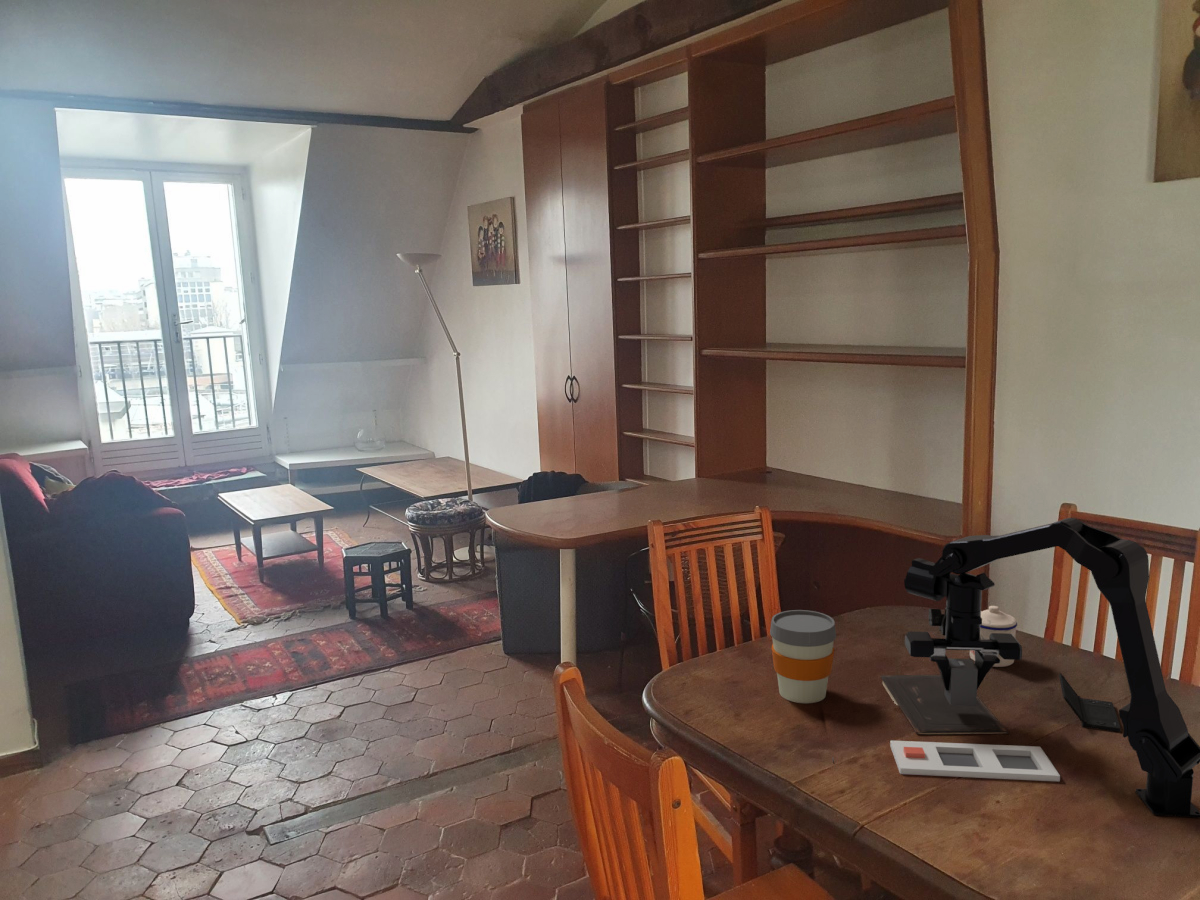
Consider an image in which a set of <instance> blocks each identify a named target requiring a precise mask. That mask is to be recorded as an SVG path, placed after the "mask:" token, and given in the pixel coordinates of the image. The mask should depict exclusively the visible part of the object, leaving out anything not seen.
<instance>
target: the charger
mask: <svg viewBox="0 0 1200 900" xmlns="http://www.w3.org/2000/svg"><path fill="white" fill-rule="evenodd" d="M947 658H948V657H947ZM948 659H949V690H948V691H946V689H945V696H946V698H947V700H948V702H949V704H950V705H957V706H976V701H977V696H978V689H977V676H978V669H977V667H976V666H975V662H974V660H972V659H971V658H948Z"/></svg>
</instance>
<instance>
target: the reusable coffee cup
mask: <svg viewBox="0 0 1200 900" xmlns="http://www.w3.org/2000/svg"><path fill="white" fill-rule="evenodd" d="M836 632H837V631H836V622H835V619H834V618H833V617H831V616H830V615H827V614H825V613H822V612H819V611H814V610H807V609H806V610H805V609H804V610H803V609H794V610H793V609H792V610H785V611H780V612H778V613H776V614H774V615H773V616H772V618H771V622H770V630H769V634H770V636H771V638H772V644H771V653H772V655H771V656H772V663H773V669H774V671H775V672H776V676H777V683H778V692H779V695H780V696H781V697H782V698H783V699H785V700H787V701H790V702H794V703H796V704H797V703H798V704H813V703H814V704H815V703H818V702H819V703H820V702H821V701H823V700H824V699H825V698H826V696H827V688H828V680H829V676H830V675H831V674H832V669H833V662H834V656H835V647H834V641H835V639H836V638H837V633H836Z"/></svg>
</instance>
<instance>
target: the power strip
mask: <svg viewBox="0 0 1200 900" xmlns="http://www.w3.org/2000/svg"><path fill="white" fill-rule="evenodd" d="M889 746H890V749H891V752H892V754H893V757H894V761H895V763H896V766H897V769H898V772H899V774H900V775H911V776H912V775H915V776H916V775H917V776H936V777H956V778H959V777H961V778H975V779H976V778H977V779H979V778H981V779H998V780H1016V781H1017V780H1018V781H1019V780H1021V781H1040V782H1058V783H1059V782H1060V781H1061V775H1060V773H1059V772H1058V770H1057V769H1056V767H1055V766H1054V765H1053V763H1052V761H1051V760H1050V758H1049V757H1048V756H1047V755H1046V753H1045V751H1044V750H1043V749H1042V748H1041V746H1030V745H1011V744H1009V745H1006V744H983V743H981V744H980V743H962V742H961V743H960V742H959V743H958V742H957V743H956V742H941V741H939V742H935V741H911V740H908V741H907V740H890V743H889ZM833 762H834V763H835V759H834V758H832V763H833Z"/></svg>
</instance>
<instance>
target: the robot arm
mask: <svg viewBox="0 0 1200 900" xmlns="http://www.w3.org/2000/svg"><path fill="white" fill-rule="evenodd" d="M1057 547H1058V548H1061V549H1062V550H1064V552H1066V553H1067V554H1068V555H1069V556H1070V557H1071V558H1072V559H1073V561H1075V563H1077V564H1078V565H1080V566H1082V567H1084V568H1086V569H1087V570H1089V571H1090V572H1091V575H1092V577H1093V580H1094V583H1095V584H1096V587H1097V589H1098V591H1099V592H1100V593H1101V594H1102V595H1103V597H1104V598H1105V599H1106V600H1107V602H1108V604H1109V605H1110V608H1111V613H1112V617H1113V623H1114V626H1115V630H1116V636H1117V640H1118V643H1119V650H1120V652H1121V657H1122V661H1123V662H1122V663H1123V666H1124V671H1125V675H1126V680H1127V683H1128V689H1129V693H1130V694H1129V695H1130V702H1129V703H1127V704H1126V705H1125V706H1123V707H1121V708H1120V709H1119V710H1118V714H1119V715H1118V716H1119V718H1120V721H1121V723H1122V726H1123V733H1122V738H1124V739H1125V738H1126V737H1127V740H1128V743H1129V745H1130V748H1132V750H1133V751H1135V752H1136V756H1137V759H1138V762H1139V765H1140V768H1141V770H1142V771H1143V772H1146V784H1145V785H1146V786H1145V788H1135V793H1136V795H1137V796H1138V797H1139V799H1140V800H1141V801H1142V802H1143V803H1144V805H1145V806H1146V807H1147V808H1148V809H1149V811H1150V812H1151V813H1152V814H1153V815H1154V816H1161V817H1181V818H1198V819H1199V818H1200V810H1199V809H1198V808H1197V807H1196V806H1195V805H1194V804H1193V802H1192V798H1193V797H1192V795H1193V786H1194V785H1193V784H1194V775H1195V773H1194V770H1193V768H1194V767H1196V765H1197V766H1198V765H1199V764H1200V745H1199V744H1198V743H1197V741H1196V740H1195V738H1193V737H1192V736H1191V734H1190V733H1189V730H1188V727H1187V724H1186V721H1185V719H1184V716H1183V714H1182V712H1181V710H1180V708H1179V706H1178V705H1177V704H1176V702H1175V701H1174V700H1173V699H1172V697H1171V696H1170V695H1169V693H1168V691H1167V689H1166V684H1165V679H1164V676H1163V671H1162V667H1161V663H1160V658H1159V654H1158V653H1159V652H1158V650H1157V646H1156V641H1155V637H1154V632H1153V628H1152V623H1151V619H1150V614H1149V610H1148V605H1147V600H1146V595H1147V591H1148V590H1147V589H1148V586H1149V585H1148V584H1149V580H1150V566H1149V565H1150V564H1149V555H1148V552H1147V550H1146V549H1145V547H1144V546H1143V545H1142V546H1141V545H1140V544H1139V543H1137V542H1136V541H1134V540H1130V539H1123V538H1121V537H1120V536H1117V535H1116V534H1114V533H1111V532H1109V531H1105V530H1102V529H1100V528H1097V527H1094V526H1091V525H1088V524H1086V523H1085V522H1083V521H1081V520H1079V519H1077V518H1074V517H1065V518H1064V519H1060V520H1058V521H1054V522H1051V523H1047V524H1043V525H1040V526H1039V525H1038V526H1035V527H1031V528H1026V529H1022V530H1018V531H1017V530H1016V531H1014V532H1013V531H1012V532H1009V533H1006V534H1001V535H991V534H990V535H989V534H979V535H969V536H968V535H967V536H965V537H962V538H959V539H956V540H953V541H949V542H947V543H946V544H944V546H943V550H942V554H941V557H940V558H938V560H937V561H936V562H933V561H930V560H927V559H924V558H921V557H918V558H915V559H912V560H911V566H910V567H909V568H908V570H907V573H906V575H905V578H904V580H903V581H904V582H903V585H904V589H905V591H906V592H907V594H911V595H914V596H916V597H917V596H918V597H920V598H921V597H922V598H925V599H929V600H932V601H935V602H940V601H942V600H943V599H944V598H945V599H946V602H945V603H946V604H945V605H946V606H945V607H944V613H943V612H942V609H941V608H928V625H929V626H930V627H938V628H939V629H938V630H939V632H941V635H942V636H944V638H937V637H936V638H935V637H934V638H932V637H931V634H930V633H929V631H912V630H911V631H907V632H906V634H905V636H904V647H905V648H906V649H907V652H908V654H909V655H910V657H912V658H929V660H930V661H931V662H934V663H936V666H937V668H938V671H939V675H941V677H942V680H943V684H944V687H945V689H946V691H948V690H949V659H948V656H947V655H946V652H947V651H948V650H949V651H951V650H952V651H970V650H975V661H974V664H975V666H976V667H977V669H978V676H977V690H978V689H979V688H980V686H981V684H982V683H983V680H984V679H985V677H986V675H987V674H988V673H989V672H990V671H991V669H992V668H993V665H994V664H998V663H1000V659H999V658H998V653H999V655H1000V656H1001V657H1002V658H1003V659H1008V660H1014V661H1018V660H1019V661H1020V660H1022V659H1023V647H1022V643H1020V642H1019V641H1018V640H1017V638H1016V636H1015V637H1014V636H1013V635H1012V634H1007V633H991V634H990V637H989V639H980V624H982V618H981V611H982V596H983V595H982V594H983V593H982V591H985V590H988V589H990V588H993V587H995V582H994V581H993V580H992V579H991V578H990V577H988V575H987V574H986V572H982V573H978V574H976V575H975V574H971V573H969V572H971V571H974V570H977V569H979V568H982V567H984V566H985V567H986V566H987V565H989V564H991V563H994V562H996V561H998V560H1000V559H1005V558H1009V557H1013V556H1019V555H1023V554H1027V553H1033V552H1037V551H1041V550H1047V549H1052V548H1057Z"/></svg>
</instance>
